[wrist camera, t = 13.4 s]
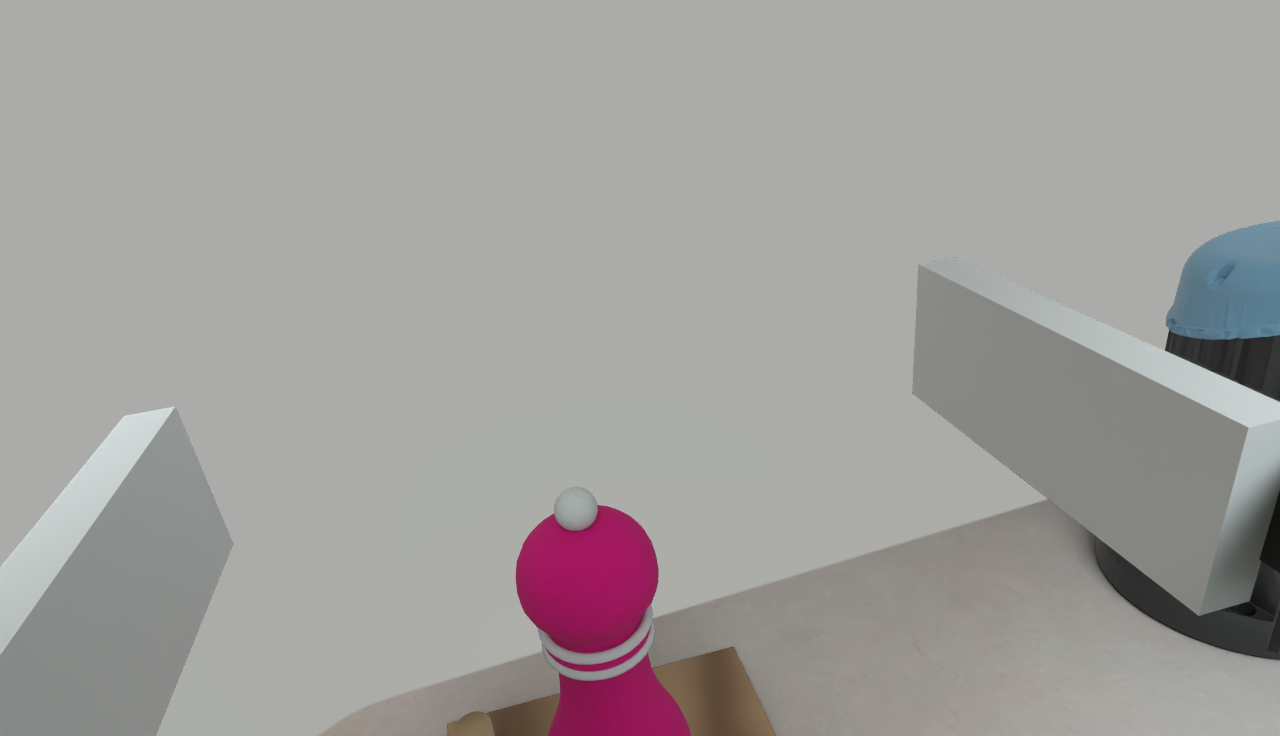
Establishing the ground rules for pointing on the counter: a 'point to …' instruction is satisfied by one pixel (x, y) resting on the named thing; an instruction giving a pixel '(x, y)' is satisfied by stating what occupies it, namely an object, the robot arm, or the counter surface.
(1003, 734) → the counter surface
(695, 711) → the seat board
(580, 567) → the pepper mill
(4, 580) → the robot arm
